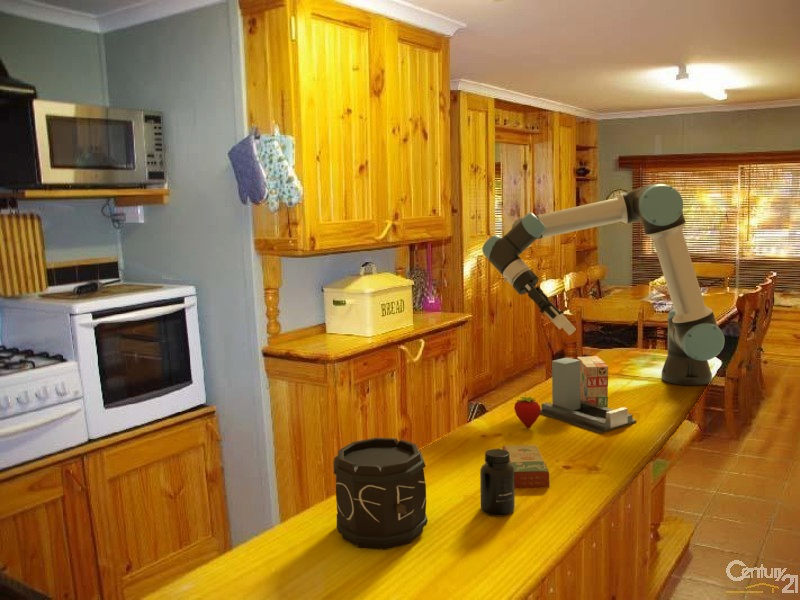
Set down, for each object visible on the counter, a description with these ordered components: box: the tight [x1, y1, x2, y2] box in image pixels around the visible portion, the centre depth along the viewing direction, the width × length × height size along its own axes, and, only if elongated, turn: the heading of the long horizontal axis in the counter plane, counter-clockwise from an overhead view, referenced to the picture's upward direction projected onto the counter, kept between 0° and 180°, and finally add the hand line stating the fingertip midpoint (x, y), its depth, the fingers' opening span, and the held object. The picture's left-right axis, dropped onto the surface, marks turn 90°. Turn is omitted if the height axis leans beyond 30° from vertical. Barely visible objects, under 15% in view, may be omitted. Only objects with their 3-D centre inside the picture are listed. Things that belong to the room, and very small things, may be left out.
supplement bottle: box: [479, 448, 516, 517], centre depth 143 cm, size 7×7×12 cm
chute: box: [540, 399, 637, 434], centre depth 198 cm, size 14×23×5 cm, turn 34°
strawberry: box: [513, 391, 541, 429], centre depth 191 cm, size 6×8×10 cm
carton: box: [502, 444, 550, 490], centre depth 161 cm, size 8×16×4 cm, turn 179°
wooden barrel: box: [332, 437, 428, 551], centre depth 136 cm, size 18×18×16 cm
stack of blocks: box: [576, 355, 609, 407], centre depth 217 cm, size 21×6×12 cm, turn 179°
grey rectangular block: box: [551, 357, 581, 411], centre depth 203 cm, size 6×5×14 cm
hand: (568, 329), depth 207 cm, fingers open, 13 cm apart
